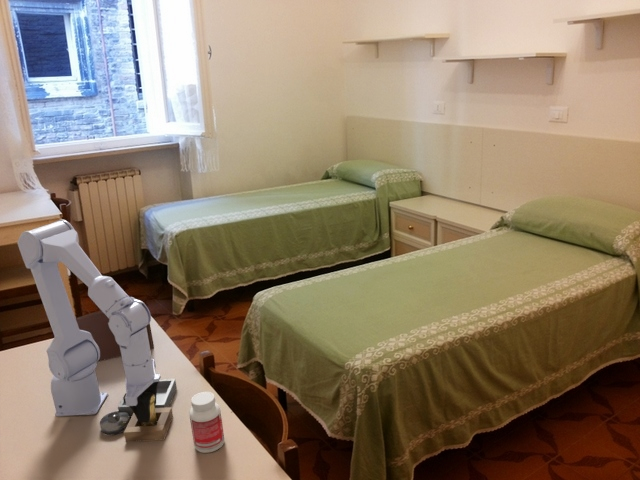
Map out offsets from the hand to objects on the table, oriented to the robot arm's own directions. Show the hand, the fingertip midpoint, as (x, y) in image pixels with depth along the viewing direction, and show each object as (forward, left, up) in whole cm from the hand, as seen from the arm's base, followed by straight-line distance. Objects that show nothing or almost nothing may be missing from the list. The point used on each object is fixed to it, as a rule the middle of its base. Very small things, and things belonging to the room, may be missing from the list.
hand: (147, 414), depth 121 cm
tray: (-3, +10, -4) cm, 11 cm away
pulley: (-8, +2, -4) cm, 9 cm away
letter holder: (-20, +36, -4) cm, 42 cm away
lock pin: (0, 0, -4) cm, 4 cm away
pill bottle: (+14, -6, -4) cm, 16 cm away
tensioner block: (0, 0, -4) cm, 4 cm away
